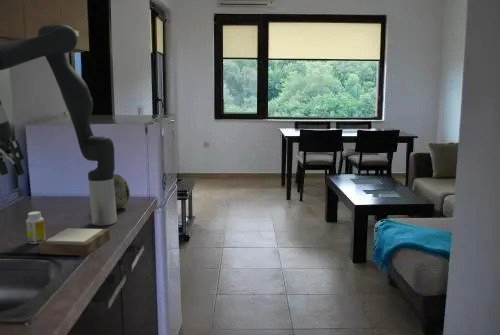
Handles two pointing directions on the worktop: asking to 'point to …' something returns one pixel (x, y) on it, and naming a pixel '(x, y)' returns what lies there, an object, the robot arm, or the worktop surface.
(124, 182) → the decorative egg
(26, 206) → the worktop surface
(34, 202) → the worktop surface
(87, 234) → the walnut stand
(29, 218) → the supplement bottle
